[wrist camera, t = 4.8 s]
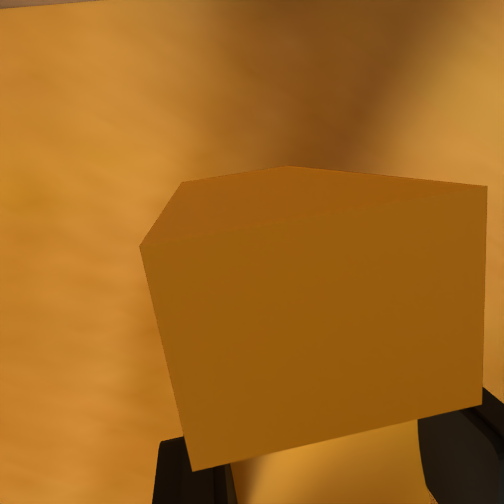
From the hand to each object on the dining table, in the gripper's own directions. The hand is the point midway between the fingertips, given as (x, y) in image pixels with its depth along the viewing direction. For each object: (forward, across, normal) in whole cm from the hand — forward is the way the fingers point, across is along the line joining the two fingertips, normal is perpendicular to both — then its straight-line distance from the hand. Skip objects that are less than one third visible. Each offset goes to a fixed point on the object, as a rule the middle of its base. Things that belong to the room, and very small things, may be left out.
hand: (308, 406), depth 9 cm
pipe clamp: (+1, 0, 0) cm, 1 cm away
